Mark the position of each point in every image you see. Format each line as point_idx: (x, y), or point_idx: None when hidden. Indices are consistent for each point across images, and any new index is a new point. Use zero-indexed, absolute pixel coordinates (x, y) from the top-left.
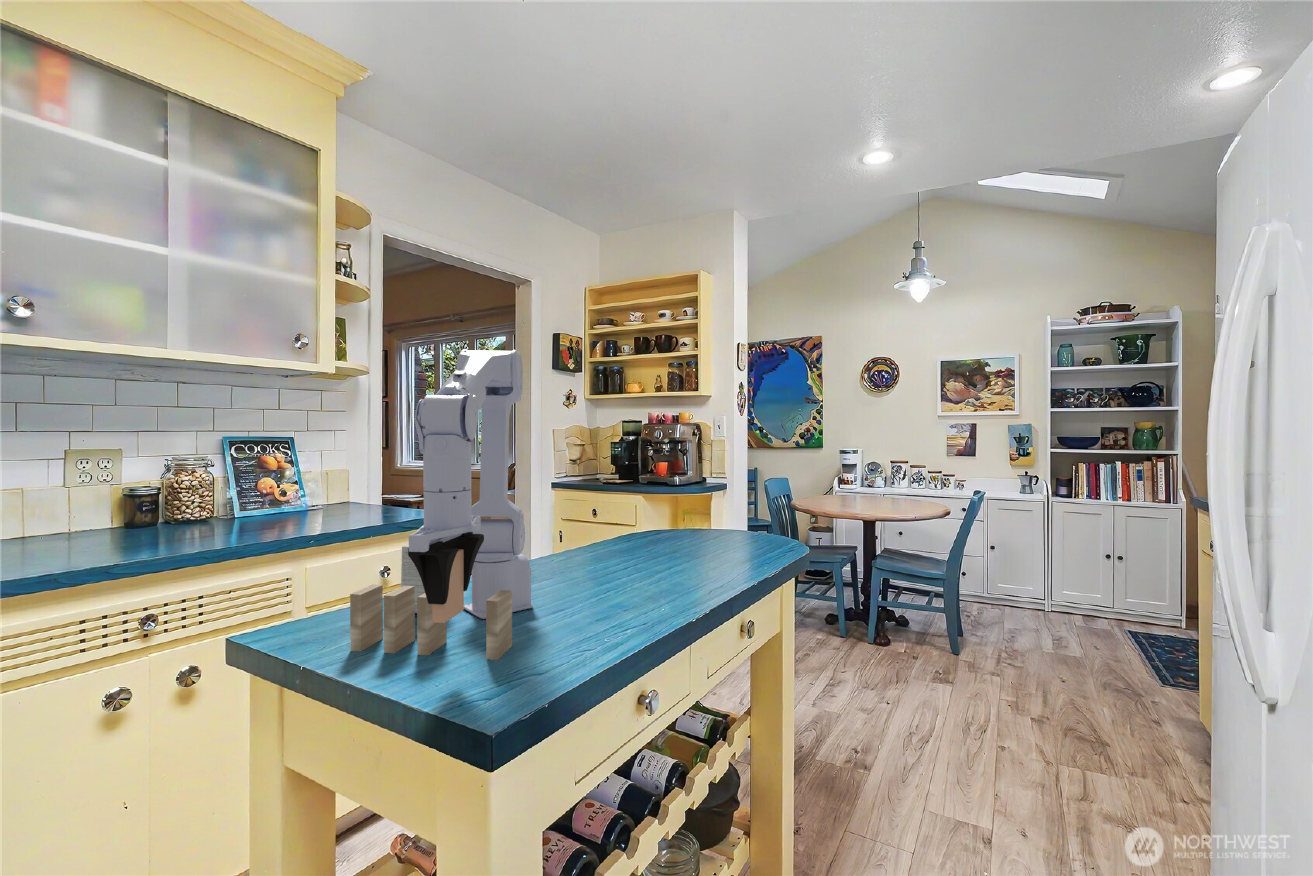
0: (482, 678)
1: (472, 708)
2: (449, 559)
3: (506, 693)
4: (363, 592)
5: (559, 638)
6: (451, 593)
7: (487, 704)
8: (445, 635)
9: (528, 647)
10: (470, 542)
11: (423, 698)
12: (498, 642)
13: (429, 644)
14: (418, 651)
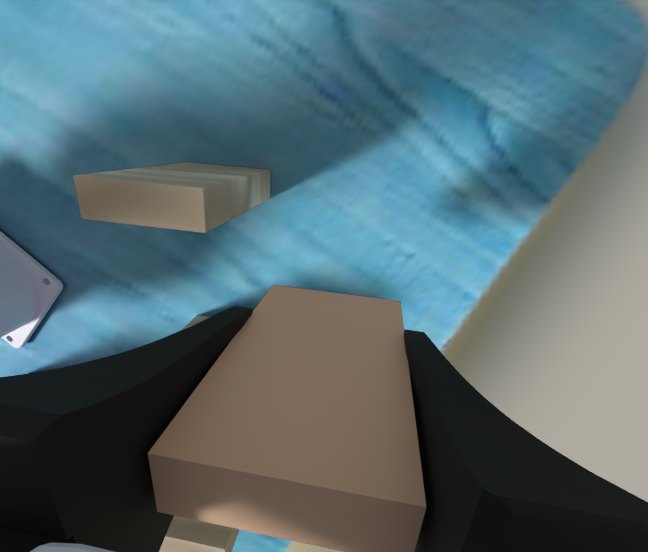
0: (372, 170)
1: (531, 135)
2: (570, 473)
3: (456, 76)
4: (208, 548)
5: (107, 41)
6: (347, 338)
7: (514, 105)
8: (194, 323)
9: (184, 115)
10: (93, 458)
11: (469, 260)
12: (251, 173)
13: None
14: None
